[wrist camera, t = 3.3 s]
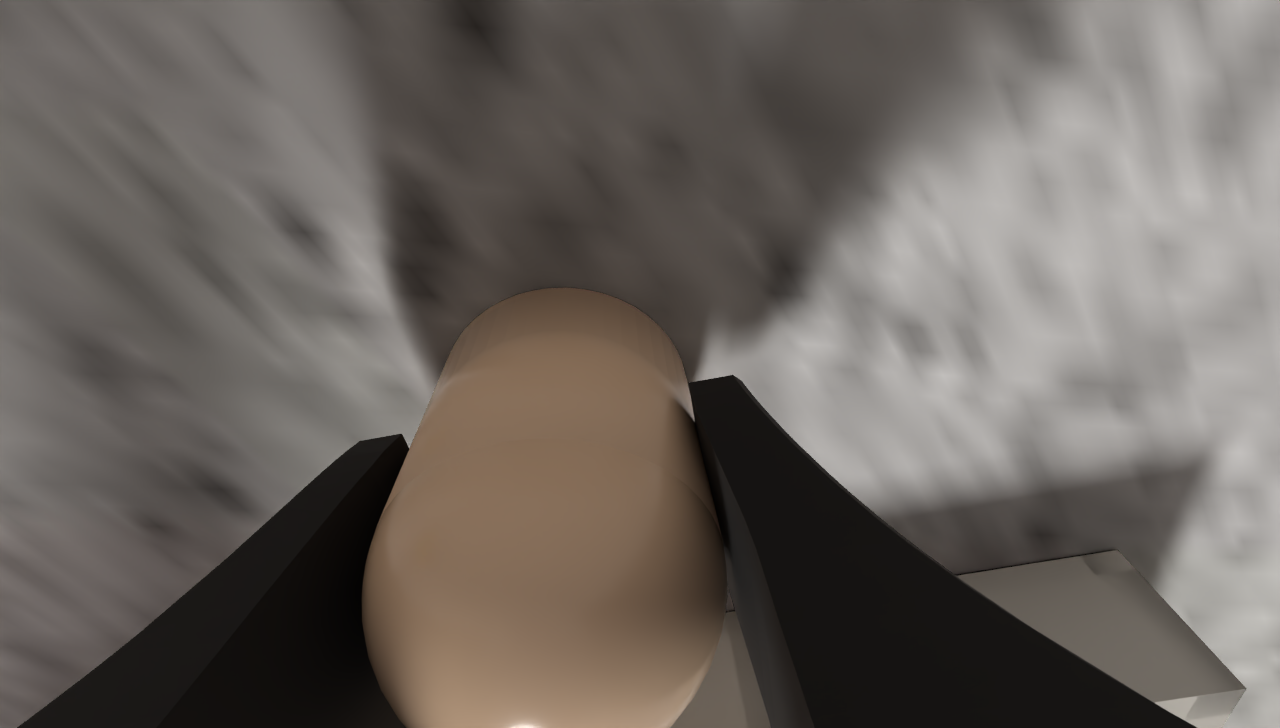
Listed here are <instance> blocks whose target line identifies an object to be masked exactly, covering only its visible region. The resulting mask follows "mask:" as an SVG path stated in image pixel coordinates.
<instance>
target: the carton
mask: <svg viewBox="0 0 1280 728" xmlns="http://www.w3.org/2000/svg"><path fill="white" fill-rule="evenodd" d="M957 577H958V578H960V579H961V580H963V581H964V582H965V583H967V584H968V585H970V586H971V587H973V588H974V589H976V590H977V591H978V592H980V593H981V594H983V595H984V596H986V597H987V598H989V599H990V600H992V601H993V602H995V603H996V604H998V605H999V606H1000V607H1002V608H1003V609H1005V610H1006V611H1008V612H1009V613H1011V614H1012V615H1014V616H1015V617H1017V618H1018V619H1020V620H1021V621H1023V622H1024V623H1026V624H1027V625H1029V626H1030V627H1032V628H1033V629H1035V630H1037V631H1038V632H1040V633H1042V634H1043V635H1045V636H1046V637H1048V638H1050V639H1051V640H1053V641H1055V642H1056V643H1058V644H1059V645H1061V646H1063V647H1064V648H1066V649H1068V650H1069V651H1071V652H1072V653H1074V654H1076V655H1077V656H1079V657H1081V658H1082V659H1084V660H1085V661H1087V662H1089V663H1090V664H1092V665H1094V666H1095V667H1097V668H1099V669H1100V670H1102V671H1103V672H1105V673H1107V674H1108V675H1110V676H1112V677H1113V678H1115V679H1116V680H1118V681H1120V682H1121V683H1123V684H1125V685H1126V686H1128V687H1129V688H1131V689H1133V690H1134V691H1136V692H1138V693H1139V694H1141V695H1142V696H1144V697H1146V698H1147V699H1149V700H1151V701H1152V702H1154V703H1156V704H1157V705H1159V706H1160V707H1162V708H1164V709H1165V710H1167V711H1169V712H1170V713H1172V714H1174V715H1176V716H1177V717H1179V718H1181V719H1183V720H1185V721H1186V722H1188V723H1190V724H1192V725H1194V726H1195V727H1197V728H1222V727H1223V725H1224V724H1225V722H1226V720H1227V719H1228V717H1229V716H1230V714H1231V713H1232V711H1233V709H1234V708H1235V706H1236V705H1237V703H1238V701H1239V700H1240V698H1241V697H1242V695H1243V693H1244V692H1245V690H1246V688H1245V687H1244V686H1243V684H1242V683H1241V682H1240V681H1239V680H1238V679H1237V678H1236V677H1235V676H1234V675H1233V674H1232V673H1231V672H1230V670H1229V669H1228V668H1227V667H1226V666H1225V665H1224V664H1223V663H1222V662H1221V661H1220V660H1219V659H1218V658H1217V656H1216V655H1215V654H1214V653H1213V652H1212V651H1211V650H1210V649H1209V648H1208V647H1207V646H1206V645H1205V643H1204V642H1203V641H1202V640H1201V639H1200V638H1199V637H1198V636H1197V635H1196V634H1195V633H1194V632H1193V631H1192V629H1191V628H1190V627H1189V626H1188V625H1187V624H1186V623H1185V622H1184V621H1183V620H1182V619H1181V618H1180V617H1179V615H1178V614H1177V613H1176V612H1175V611H1174V610H1173V609H1172V608H1171V607H1170V606H1169V605H1168V604H1167V603H1166V601H1165V600H1164V599H1163V598H1162V597H1161V596H1160V595H1159V594H1158V593H1157V592H1156V591H1155V590H1154V589H1153V587H1152V586H1151V585H1150V584H1149V583H1148V582H1147V581H1146V580H1145V579H1144V578H1143V577H1142V576H1141V575H1140V573H1139V572H1138V571H1137V570H1136V569H1135V568H1134V567H1133V566H1132V565H1131V564H1130V563H1129V562H1128V561H1127V559H1126V558H1125V557H1124V556H1123V555H1122V554H1121V553H1120V552H1119V551H1118V550H1114V551H1108V552H1102V553H1096V554H1089V555H1083V556H1077V557H1071V558H1064V559H1058V560H1052V561H1046V562H1039V563H1033V564H1027V565H1021V566H1014V567H1008V568H1002V569H996V570H989V571H983V572H977V573H971V574H964V575H958V576H957ZM670 728H771V726H770V722H769V718H768V715H767V712H766V709H765V705H764V702H763V699H762V696H761V692H760V689H759V686H758V683H757V679H756V676H755V673H754V670H753V666H752V663H751V660H750V657H749V653H748V650H747V647H746V644H745V640H744V637H743V634H742V631H741V627H740V624H739V621H738V618H737V614H736V611H733V612H727V613H725V617H724V622H723V628H722V633H721V637H720V640H719V643H718V646H717V649H716V652H715V655H714V658H713V660H712V663H711V666H710V669H709V671H708V672H707V674H706V676H705V678H704V680H703V682H702V683H701V685H700V687H699V689H698V691H697V693H696V694H695V696H694V698H693V700H692V701H691V702H690V703H689V705H688V706H687V707H686V709H685V710H684V711H683V712H682V714H681V715H680V716H679V717H678V719H677V720H676V721H675V723H674V724H673V725H672V726H671V727H670Z"/></svg>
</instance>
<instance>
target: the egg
mask: <svg viewBox="0 0 1280 728" xmlns="http://www.w3.org/2000/svg"><path fill="white" fill-rule="evenodd" d="M726 602H727V569H726V560H725V552H724V545H723V541H722V536H721V532H720V527H719V523H718V518H717V514H716V509H715V505H714V501H713V497H712V493H711V489H710V485H709V481H708V477H707V474H706V470H705V466H704V461H703V457H702V452H701V448H700V443H699V438H698V434H697V429H696V425H695V420H694V413H693V407H692V401H691V396H690V392H689V387H688V383H687V378H686V374H685V370H684V367H683V363H682V360H681V358H680V356H679V354H678V351H677V349H676V348H675V346H674V344H673V343H672V341H671V340H670V338H669V337H668V336H667V334H666V333H665V332H664V331H663V330H662V329H661V327H660V326H659V325H658V324H656V323H655V322H654V321H653V320H652V319H651V318H650V317H649V316H647V315H646V314H644V313H643V312H641V311H640V310H639V309H637V308H636V307H634V306H632V305H630V304H628V303H626V302H624V301H622V300H620V299H618V298H615V297H612V296H609V295H607V294H604V293H600V292H595V291H591V290H586V289H577V288H547V289H539V290H533V291H529V292H525V293H522V294H518V295H515V296H513V297H510V298H508V299H505V300H503V301H501V302H499V303H497V304H495V305H494V306H492V307H490V308H488V309H487V310H485V311H484V312H483V313H482V314H480V315H479V316H478V317H476V318H475V319H474V320H473V321H472V322H471V323H470V324H469V325H468V326H467V327H466V328H465V329H464V331H463V332H462V333H461V335H460V336H459V338H458V339H457V341H456V342H455V344H454V346H453V348H452V350H451V352H450V354H449V356H448V359H447V361H446V364H445V366H444V368H443V371H442V373H441V375H440V378H439V380H438V382H437V385H436V387H435V390H434V392H433V394H432V397H431V399H430V401H429V404H428V406H427V408H426V411H425V413H424V416H423V418H422V420H421V423H420V425H419V427H418V430H417V432H416V434H415V437H414V439H413V442H412V444H411V446H410V449H409V451H408V453H407V456H406V458H405V460H404V463H403V465H402V468H401V470H400V472H399V475H398V477H397V479H396V482H395V484H394V486H393V489H392V491H391V494H390V496H389V498H388V501H387V503H386V505H385V508H384V510H383V513H382V515H381V517H380V520H379V522H378V524H377V527H376V530H375V533H374V536H373V539H372V542H371V545H370V549H369V552H368V556H367V559H366V564H365V571H364V577H363V585H362V624H363V631H364V637H365V642H366V647H367V652H368V658H369V660H370V663H371V666H372V668H373V671H374V673H375V676H376V679H377V681H378V684H379V686H380V689H381V691H382V693H383V694H384V696H385V698H386V699H387V701H388V703H389V704H390V706H391V707H392V709H393V710H394V712H395V714H396V715H397V717H398V718H399V720H400V721H401V722H402V723H403V725H404V726H405V727H406V728H670V727H671V726H672V725H673V724H674V723H675V721H676V720H677V719H678V717H679V716H680V715H681V714H682V712H683V711H684V710H685V709H686V707H687V706H688V705H689V703H690V702H691V701H692V700H693V698H694V696H695V694H696V693H697V691H698V689H699V687H700V685H701V683H702V682H703V680H704V678H705V676H706V674H707V672H708V671H709V669H710V666H711V663H712V660H713V658H714V655H715V652H716V649H717V646H718V643H719V640H720V637H721V633H722V628H723V622H724V617H725V610H726Z"/></svg>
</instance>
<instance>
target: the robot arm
mask: <svg viewBox="0 0 1280 728" xmlns="http://www.w3.org/2000/svg"><path fill="white" fill-rule="evenodd" d="M689 388H690V395H691V401H692V407H693V413H694V420H695V425H696V429H697V434H698V438H699V443H700V448H701V452H702V457H703V461H704V466H705V470H706V474H707V477H708V481H709V485H710V489H711V493H712V497H713V501H714V505H715V509H716V514H717V518H718V523H719V527H720V532H721V536H722V541H723V545H724V552H725V560H726V569H727V585H728V588H729V591H730V595H731V598H732V601H733V604H734V608H735V611H736V614H737V618H738V621H739V624H740V627H741V631H742V634H743V637H744V640H745V644H746V647H747V650H748V653H749V657H750V660H751V663H752V666H753V670H754V673H755V676H756V679H757V683H758V686H759V689H760V692H761V696H762V699H763V702H764V705H765V709H766V712H767V715H768V718H769V722H770V726H771V728H1197V727H1195V726H1194V725H1192V724H1190V723H1188V722H1186V721H1185V720H1183V719H1181V718H1179V717H1177V716H1176V715H1174V714H1172V713H1170V712H1169V711H1167V710H1165V709H1164V708H1162V707H1160V706H1159V705H1157V704H1156V703H1154V702H1152V701H1151V700H1149V699H1147V698H1146V697H1144V696H1142V695H1141V694H1139V693H1138V692H1136V691H1134V690H1133V689H1131V688H1129V687H1128V686H1126V685H1125V684H1123V683H1121V682H1120V681H1118V680H1116V679H1115V678H1113V677H1112V676H1110V675H1108V674H1107V673H1105V672H1103V671H1102V670H1100V669H1099V668H1097V667H1095V666H1094V665H1092V664H1090V663H1089V662H1087V661H1085V660H1084V659H1082V658H1081V657H1079V656H1077V655H1076V654H1074V653H1072V652H1071V651H1069V650H1068V649H1066V648H1064V647H1063V646H1061V645H1059V644H1058V643H1056V642H1055V641H1053V640H1051V639H1050V638H1048V637H1046V636H1045V635H1043V634H1042V633H1040V632H1038V631H1037V630H1035V629H1033V628H1032V627H1030V626H1029V625H1027V624H1026V623H1024V622H1023V621H1021V620H1020V619H1018V618H1017V617H1015V616H1014V615H1012V614H1011V613H1009V612H1008V611H1006V610H1005V609H1003V608H1002V607H1000V606H999V605H998V604H996V603H995V602H993V601H992V600H990V599H989V598H987V597H986V596H984V595H983V594H981V593H980V592H978V591H977V590H976V589H974V588H973V587H971V586H970V585H968V584H967V583H965V582H964V581H963V580H961V579H960V578H958V577H957V576H956V575H954V574H953V573H952V572H950V571H949V570H947V569H946V568H945V567H943V566H942V565H941V564H939V563H938V562H936V561H935V560H934V559H932V558H931V557H930V556H928V555H927V554H925V553H924V552H923V551H921V550H920V549H919V548H918V547H916V546H915V545H914V544H912V543H911V542H910V541H908V540H907V539H906V538H905V537H903V536H902V535H901V534H899V533H898V532H897V531H896V530H894V529H893V528H892V527H891V526H889V525H888V524H887V523H886V522H884V521H883V520H882V519H881V518H880V517H878V516H877V515H876V514H875V513H874V512H872V511H871V510H870V509H869V508H868V507H867V506H865V505H864V504H863V503H862V502H861V501H859V500H858V499H857V498H856V497H855V496H853V495H852V494H851V493H850V492H849V491H848V490H847V489H845V488H844V487H843V486H842V485H841V484H840V483H839V482H838V481H836V480H835V479H834V478H833V477H832V476H831V475H830V474H829V473H828V472H827V471H826V470H825V469H823V468H822V467H821V466H820V465H819V464H818V463H817V462H816V461H815V460H814V459H813V458H812V457H811V456H810V455H809V454H808V453H807V452H806V451H805V450H804V449H803V448H801V447H800V446H799V445H798V444H797V443H796V442H795V441H794V440H793V439H792V438H791V437H790V436H789V435H788V434H787V433H786V432H785V431H784V429H783V428H782V427H781V426H780V425H779V424H778V423H777V422H776V421H775V420H774V419H773V418H772V417H771V416H770V414H769V413H768V412H767V411H766V410H765V409H764V408H763V407H762V406H761V404H760V403H759V402H758V401H757V400H756V399H755V397H754V396H753V395H752V394H751V392H750V391H749V390H748V389H747V387H746V386H745V385H744V384H743V382H742V381H741V380H739V379H738V378H737V377H735V376H734V375H730V376H725V377H719V378H714V379H708V380H702V381H697V382H691V383H689ZM408 451H409V447H408V445H407V443H406V441H405V439H404V437H403V435H402V434H397V435H392V436H386V437H380V438H375V439H369V440H364V441H359V442H358V443H357V444H356V445H354V446H353V447H352V448H350V449H349V450H348V451H346V452H345V453H344V454H343V455H341V456H340V457H339V458H338V459H337V460H336V461H334V462H333V463H332V464H331V465H330V466H329V467H327V468H326V469H325V470H324V471H323V472H322V473H321V474H320V475H318V476H317V477H316V478H315V479H314V480H313V481H312V482H311V483H309V484H308V485H307V486H306V487H305V488H304V489H303V490H302V491H301V492H300V493H298V494H297V495H296V496H295V497H294V498H293V499H292V500H291V501H290V502H289V503H287V504H286V505H285V506H284V507H283V508H282V509H281V510H280V511H279V512H278V513H276V514H275V515H274V516H273V517H272V518H271V519H270V520H269V521H268V522H267V523H265V524H264V525H263V526H262V527H261V528H260V529H259V530H258V531H257V532H255V533H254V534H253V535H252V536H251V537H250V538H249V539H248V540H247V541H246V542H244V543H243V544H242V545H241V546H240V547H239V548H238V549H237V550H236V551H234V552H233V553H232V554H231V555H230V556H229V557H228V558H227V559H226V560H224V561H223V562H222V563H221V564H220V565H219V566H217V567H216V568H215V569H214V570H213V571H212V572H210V573H209V574H208V575H207V576H206V577H205V578H203V579H202V580H201V581H200V582H199V583H198V584H196V585H195V586H194V587H193V588H192V589H190V590H189V591H188V592H187V593H186V594H185V595H183V596H182V597H181V598H180V599H179V600H178V601H176V602H175V603H174V604H173V605H172V606H171V607H169V608H168V609H167V610H166V611H165V612H164V613H162V614H161V615H160V616H159V617H158V618H157V619H155V620H154V621H153V622H152V623H151V624H150V625H148V626H147V627H146V628H145V629H144V630H142V631H141V632H140V633H139V634H138V635H136V636H135V637H134V638H133V639H132V640H130V641H129V642H128V643H127V644H125V645H124V646H123V647H122V648H120V649H119V650H118V651H117V652H115V653H114V654H113V655H112V656H110V657H109V658H108V659H107V660H105V661H104V662H103V663H102V664H100V665H99V666H98V667H96V668H95V669H94V670H93V671H91V672H90V673H89V674H88V675H86V676H85V677H84V678H82V679H81V680H80V681H78V682H77V683H76V684H74V685H73V686H72V687H71V688H69V689H68V690H67V691H65V692H64V693H63V694H61V695H60V696H59V697H57V698H56V699H55V700H53V701H52V702H51V703H49V704H48V705H47V706H45V707H44V708H43V709H41V710H40V711H39V712H37V713H36V714H35V715H34V716H32V717H31V718H30V719H28V720H27V721H26V722H24V723H23V724H22V725H20V726H19V727H17V728H406V727H405V726H404V725H403V723H402V722H401V721H400V720H399V718H398V717H397V715H396V714H395V712H394V710H393V709H392V707H391V706H390V704H389V703H388V701H387V699H386V698H385V696H384V694H383V693H382V691H381V689H380V686H379V684H378V681H377V679H376V676H375V673H374V671H373V668H372V666H371V663H370V660H369V658H368V652H367V647H366V642H365V637H364V631H363V624H362V585H363V577H364V571H365V564H366V559H367V556H368V552H369V549H370V545H371V542H372V539H373V536H374V533H375V530H376V527H377V524H378V522H379V520H380V517H381V515H382V513H383V510H384V508H385V505H386V503H387V501H388V498H389V496H390V494H391V491H392V489H393V486H394V484H395V482H396V479H397V477H398V475H399V472H400V470H401V468H402V465H403V463H404V460H405V458H406V456H407V453H408Z"/></svg>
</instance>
